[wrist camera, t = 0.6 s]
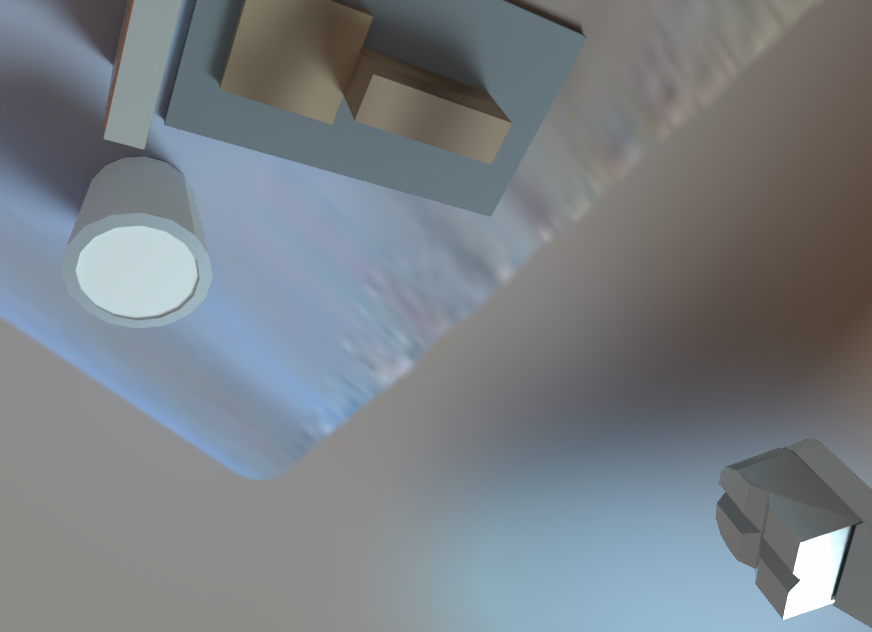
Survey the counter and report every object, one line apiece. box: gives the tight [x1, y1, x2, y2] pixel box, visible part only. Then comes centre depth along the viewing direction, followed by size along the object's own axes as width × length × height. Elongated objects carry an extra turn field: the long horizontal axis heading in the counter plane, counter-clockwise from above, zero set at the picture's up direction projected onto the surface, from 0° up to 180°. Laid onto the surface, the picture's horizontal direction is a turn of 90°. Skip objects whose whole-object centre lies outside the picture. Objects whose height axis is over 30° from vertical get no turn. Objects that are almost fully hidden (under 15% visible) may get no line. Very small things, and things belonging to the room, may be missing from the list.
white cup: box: [61, 156, 213, 328], centre depth 39 cm, size 7×7×7 cm
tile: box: [103, 0, 182, 150], centre depth 33 cm, size 8×2×8 cm, turn 155°
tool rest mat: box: [164, 0, 587, 216], centre depth 41 cm, size 12×20×1 cm, turn 65°
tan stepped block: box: [219, 0, 512, 164], centre depth 39 cm, size 14×6×4 cm, turn 65°
